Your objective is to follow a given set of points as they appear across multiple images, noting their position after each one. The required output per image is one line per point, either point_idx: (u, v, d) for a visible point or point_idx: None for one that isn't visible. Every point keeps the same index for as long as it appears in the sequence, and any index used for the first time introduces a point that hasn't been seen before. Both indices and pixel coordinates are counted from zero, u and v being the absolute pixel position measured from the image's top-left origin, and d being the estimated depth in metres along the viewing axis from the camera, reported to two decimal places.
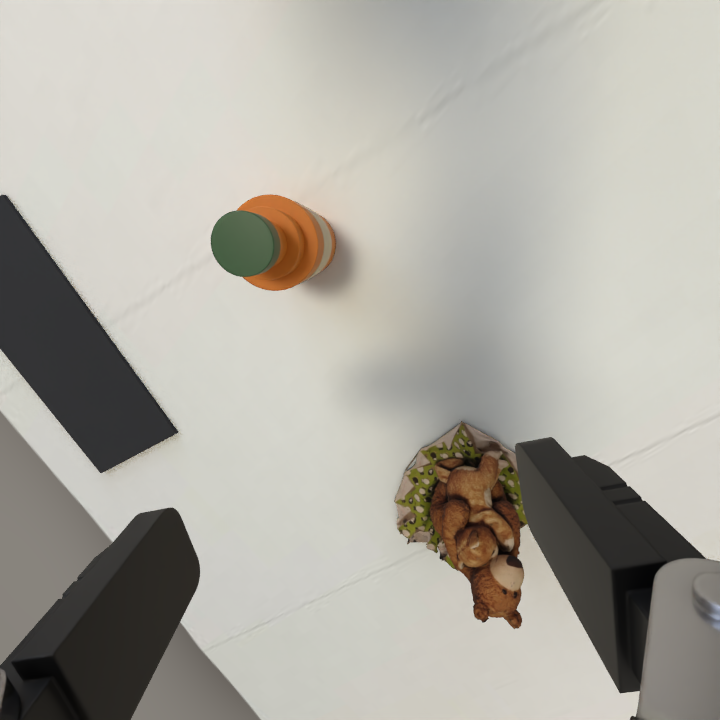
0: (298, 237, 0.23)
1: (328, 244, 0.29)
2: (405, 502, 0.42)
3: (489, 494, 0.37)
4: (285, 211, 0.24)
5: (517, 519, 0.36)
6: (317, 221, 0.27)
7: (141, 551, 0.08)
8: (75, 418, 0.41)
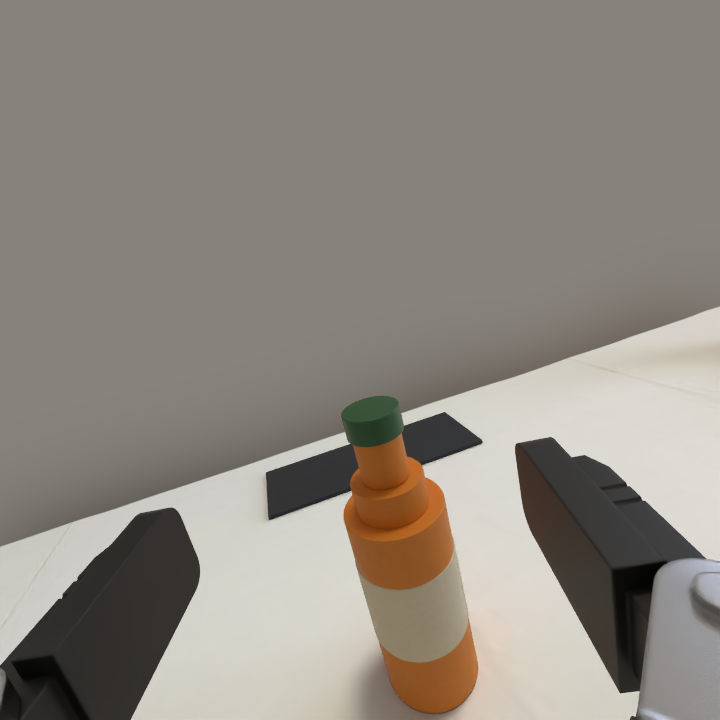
0: (386, 499, 0.20)
1: (404, 626, 0.21)
2: None
3: None
4: (425, 513, 0.21)
5: None
6: (425, 583, 0.20)
7: (141, 551, 0.08)
8: (313, 462, 0.52)
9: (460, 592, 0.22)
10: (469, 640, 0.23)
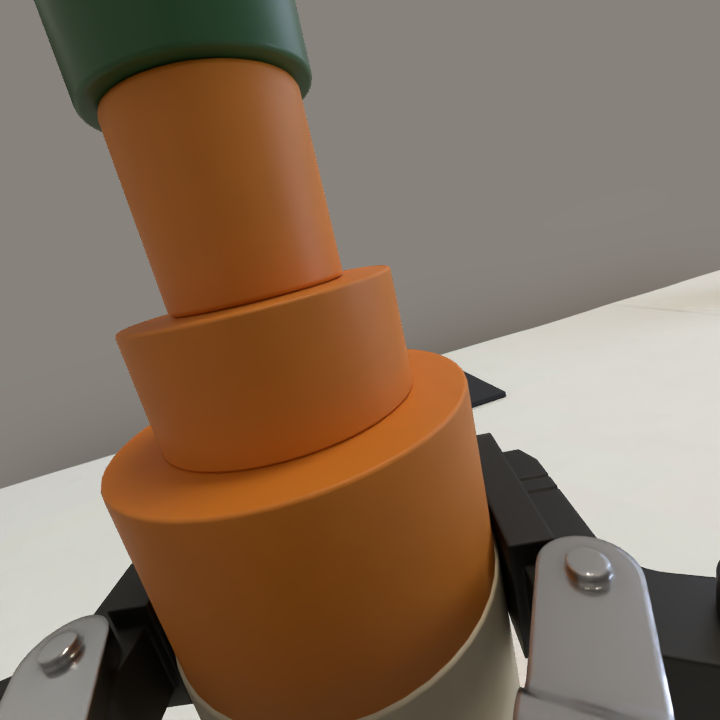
0: (205, 326, 0.04)
1: None
2: None
3: None
4: (392, 415, 0.05)
5: None
6: (388, 707, 0.05)
7: None
8: None
9: None
10: None
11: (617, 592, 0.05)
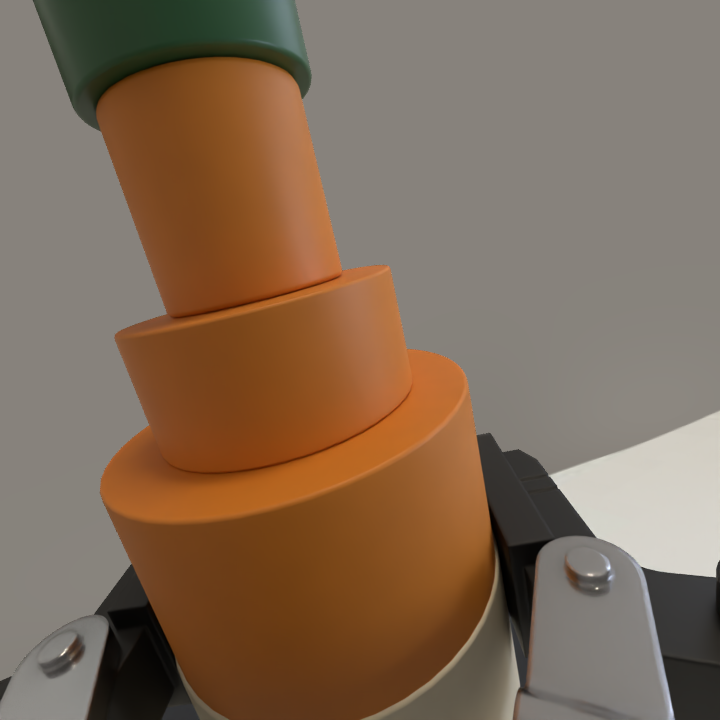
0: (204, 326, 0.04)
1: None
2: None
3: None
4: (391, 415, 0.05)
5: None
6: (388, 708, 0.05)
7: None
8: None
9: None
10: None
11: (617, 592, 0.05)
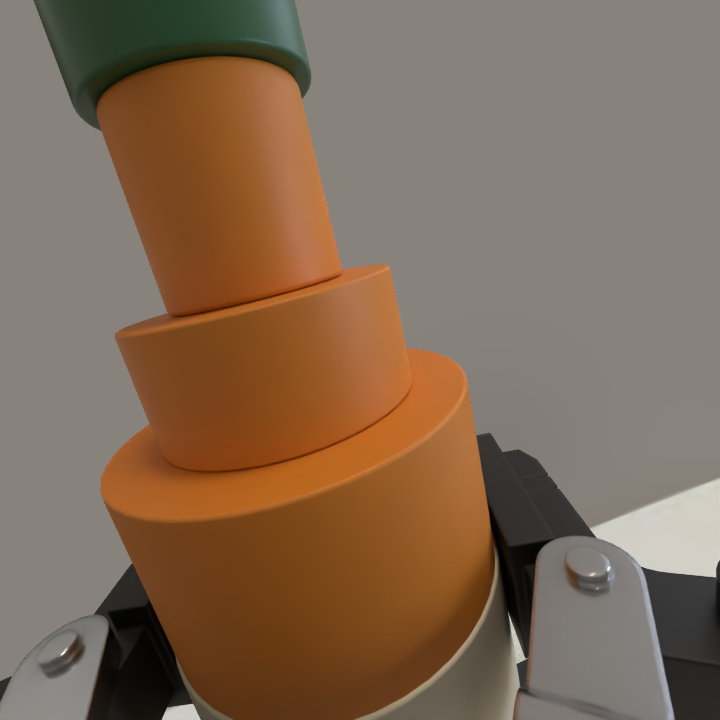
0: (204, 325, 0.04)
1: None
2: None
3: None
4: (391, 414, 0.05)
5: None
6: (388, 706, 0.05)
7: None
8: None
9: None
10: None
11: (617, 592, 0.05)
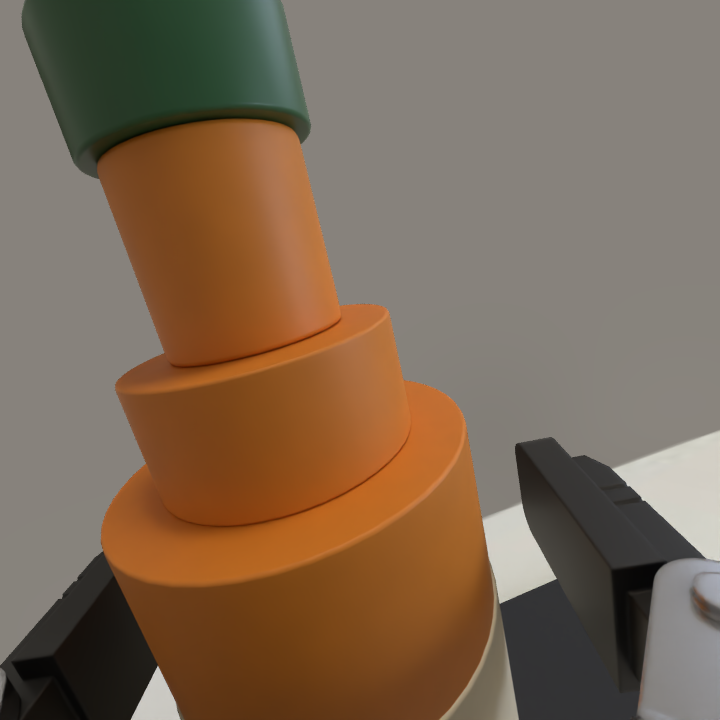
0: (205, 387, 0.04)
1: None
2: None
3: None
4: (390, 464, 0.05)
5: None
6: None
7: None
8: None
9: None
10: None
11: None
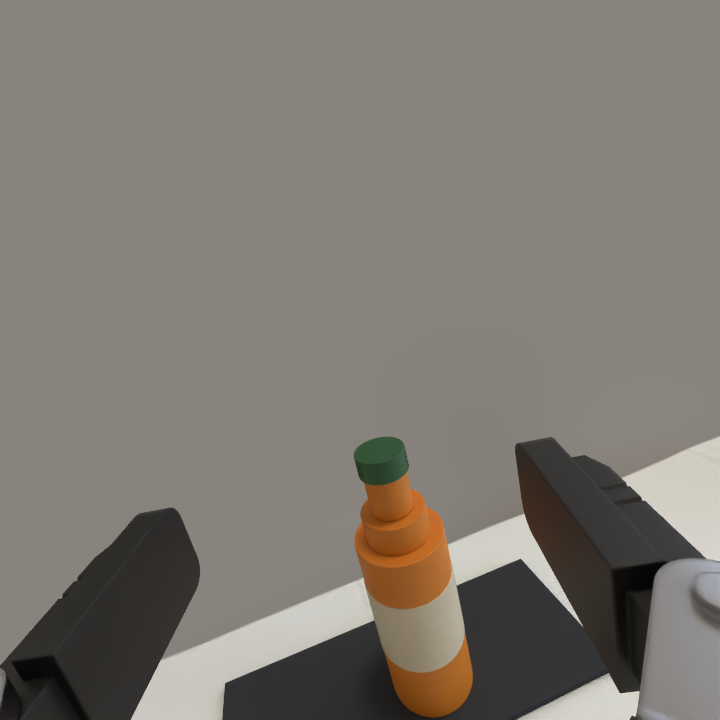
0: (393, 530, 0.23)
1: (408, 641, 0.24)
2: None
3: None
4: (426, 541, 0.23)
5: None
6: (426, 604, 0.23)
7: (141, 551, 0.08)
8: (306, 670, 0.30)
9: (457, 610, 0.25)
10: (465, 652, 0.26)
11: None
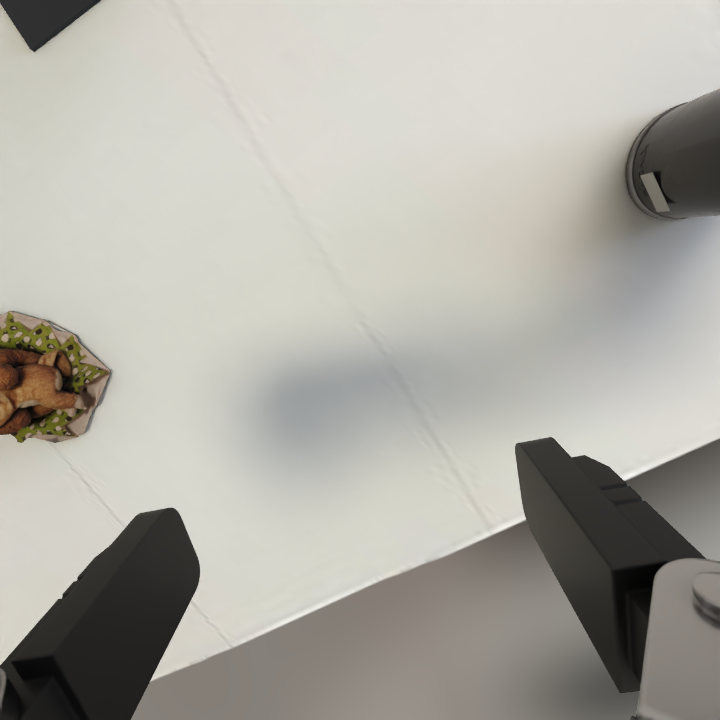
0: None
1: None
2: (10, 322, 0.41)
3: (33, 404, 0.39)
4: None
5: (11, 431, 0.39)
6: None
7: (141, 551, 0.08)
8: None
9: None
10: None
11: None
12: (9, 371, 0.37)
